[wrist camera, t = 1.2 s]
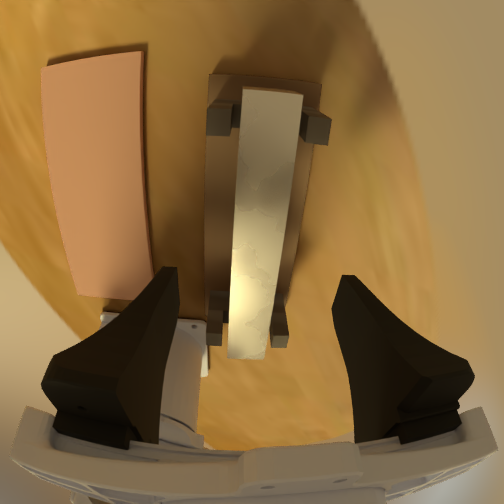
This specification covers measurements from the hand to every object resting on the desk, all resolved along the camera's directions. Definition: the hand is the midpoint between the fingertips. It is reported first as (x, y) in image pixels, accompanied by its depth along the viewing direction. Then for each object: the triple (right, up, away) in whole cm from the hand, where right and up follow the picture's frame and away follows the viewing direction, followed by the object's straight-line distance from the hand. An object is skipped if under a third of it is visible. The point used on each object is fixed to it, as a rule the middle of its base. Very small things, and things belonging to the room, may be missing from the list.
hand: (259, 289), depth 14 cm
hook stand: (0, +4, +7) cm, 8 cm away
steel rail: (0, +2, +3) cm, 4 cm away
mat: (-11, +6, +5) cm, 13 cm away
